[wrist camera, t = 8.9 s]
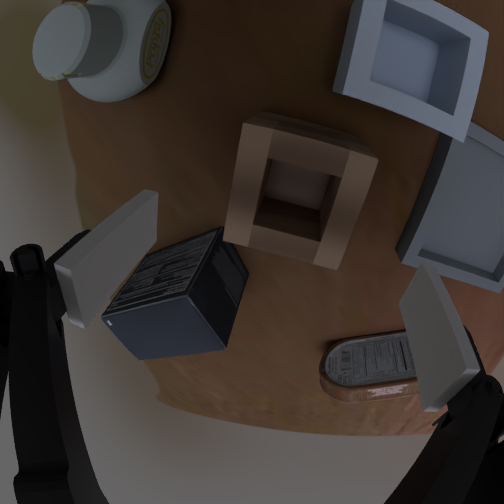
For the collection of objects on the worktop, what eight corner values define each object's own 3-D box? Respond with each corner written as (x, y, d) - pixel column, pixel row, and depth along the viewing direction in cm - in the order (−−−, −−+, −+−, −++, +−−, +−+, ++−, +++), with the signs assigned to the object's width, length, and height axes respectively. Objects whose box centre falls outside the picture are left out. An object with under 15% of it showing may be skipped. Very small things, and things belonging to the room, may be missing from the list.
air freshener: (110, -5, 18) (36, -19, 9) (186, -9, 17) (123, -41, 9) (91, 94, 24) (16, 114, 15) (160, 103, 23) (89, 121, 15)
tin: (321, 353, 36) (318, 409, 29) (318, 336, 35) (315, 395, 28) (434, 336, 32) (449, 390, 25) (437, 319, 30) (455, 374, 23)
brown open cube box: (263, 110, 23) (243, 122, 16) (358, 136, 22) (378, 159, 16) (245, 197, 27) (222, 240, 20) (331, 219, 27) (337, 270, 20)
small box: (174, 297, 35) (137, 363, 27) (144, 254, 33) (95, 316, 24) (252, 276, 32) (228, 354, 23) (223, 224, 29) (183, 293, 20)
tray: (447, 111, 19) (459, 115, 17) (542, 171, 18) (555, 180, 16) (395, 248, 27) (401, 263, 25) (490, 280, 26) (499, 293, 24)
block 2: (351, 6, 16) (368, -26, 10) (441, 41, 16) (489, 32, 9) (331, 91, 21) (342, 94, 14) (421, 123, 20) (463, 142, 14)
